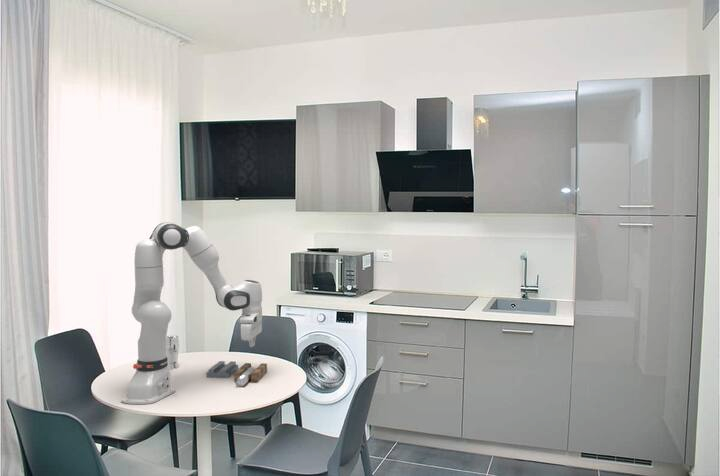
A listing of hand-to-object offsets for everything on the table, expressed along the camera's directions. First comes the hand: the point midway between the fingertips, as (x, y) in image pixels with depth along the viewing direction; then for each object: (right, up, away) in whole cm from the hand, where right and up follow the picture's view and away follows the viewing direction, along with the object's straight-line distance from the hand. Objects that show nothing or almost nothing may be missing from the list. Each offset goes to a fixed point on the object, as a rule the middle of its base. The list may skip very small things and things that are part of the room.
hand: (252, 346), depth 255 cm
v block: (-14, -14, +4) cm, 20 cm away
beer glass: (-42, -14, +17) cm, 47 cm away
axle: (-1, -14, -9) cm, 16 cm away
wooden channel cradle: (0, -14, -2) cm, 15 cm away
